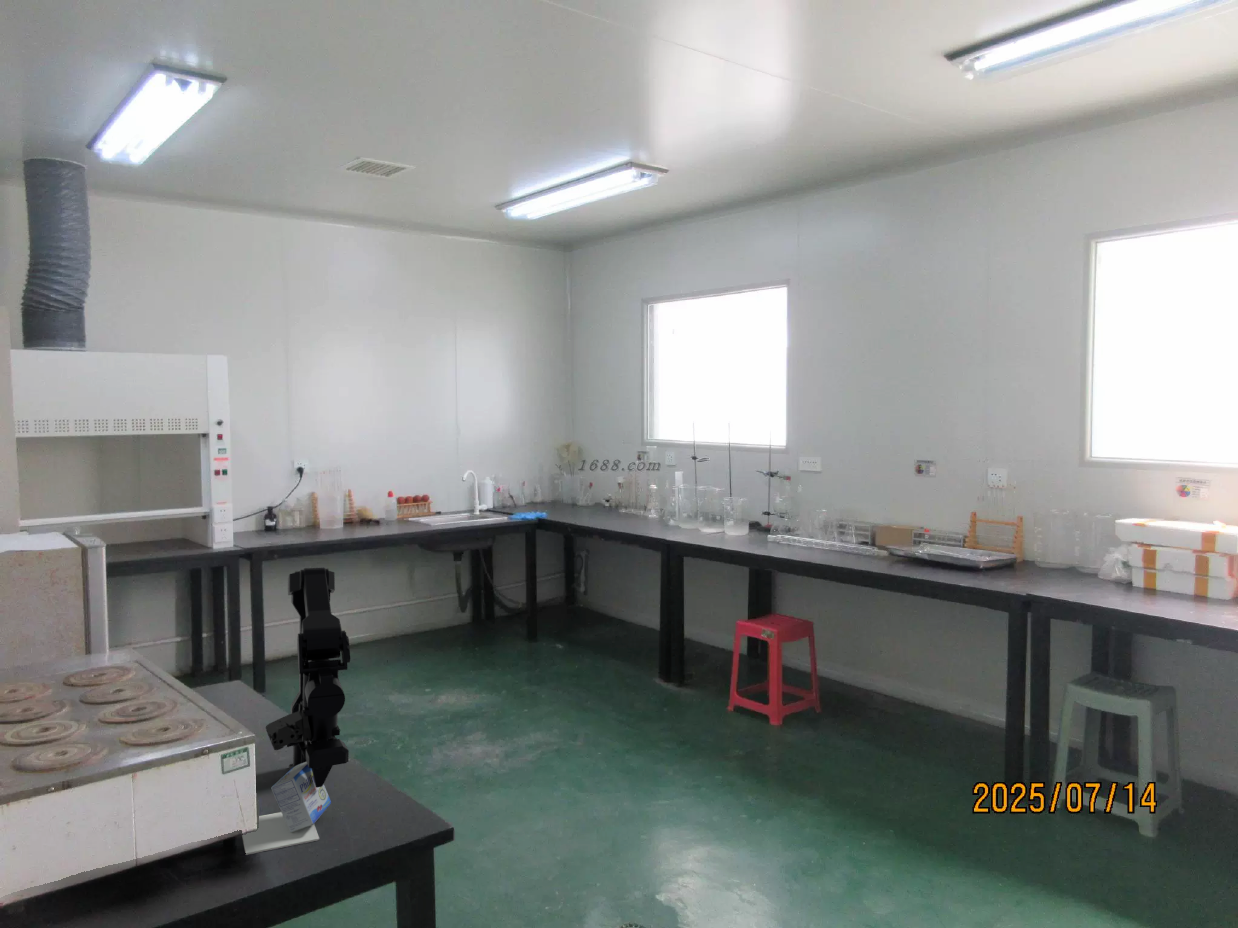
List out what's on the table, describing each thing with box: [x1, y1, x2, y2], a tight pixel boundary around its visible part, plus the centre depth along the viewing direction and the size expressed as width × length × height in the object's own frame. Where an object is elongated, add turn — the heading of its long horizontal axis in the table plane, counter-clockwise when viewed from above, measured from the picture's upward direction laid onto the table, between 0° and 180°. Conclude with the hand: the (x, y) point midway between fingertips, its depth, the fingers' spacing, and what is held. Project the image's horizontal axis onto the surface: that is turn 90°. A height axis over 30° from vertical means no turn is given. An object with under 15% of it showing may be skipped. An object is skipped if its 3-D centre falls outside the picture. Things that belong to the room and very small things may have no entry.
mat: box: [241, 811, 320, 856], centre depth 141 cm, size 12×11×1 cm
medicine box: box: [270, 762, 332, 832], centre depth 143 cm, size 8×4×9 cm, turn 176°
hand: (318, 786), depth 143 cm, fingers closed
